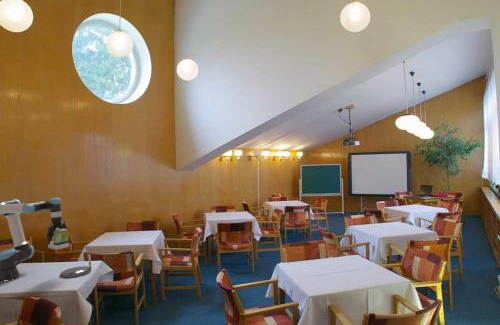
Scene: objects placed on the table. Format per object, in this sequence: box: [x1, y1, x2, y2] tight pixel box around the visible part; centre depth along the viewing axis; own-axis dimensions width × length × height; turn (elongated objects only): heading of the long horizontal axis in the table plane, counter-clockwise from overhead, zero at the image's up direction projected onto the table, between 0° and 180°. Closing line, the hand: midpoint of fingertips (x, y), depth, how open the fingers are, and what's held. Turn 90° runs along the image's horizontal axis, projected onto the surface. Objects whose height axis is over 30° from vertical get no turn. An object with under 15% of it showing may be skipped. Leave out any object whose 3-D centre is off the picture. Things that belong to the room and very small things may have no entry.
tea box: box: [46, 228, 70, 250], centre depth 269 cm, size 15×10×15 cm, turn 57°
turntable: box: [59, 254, 92, 279], centre depth 274 cm, size 23×23×13 cm
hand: (58, 242), depth 269 cm, fingers closed on tea box, 11 cm apart
